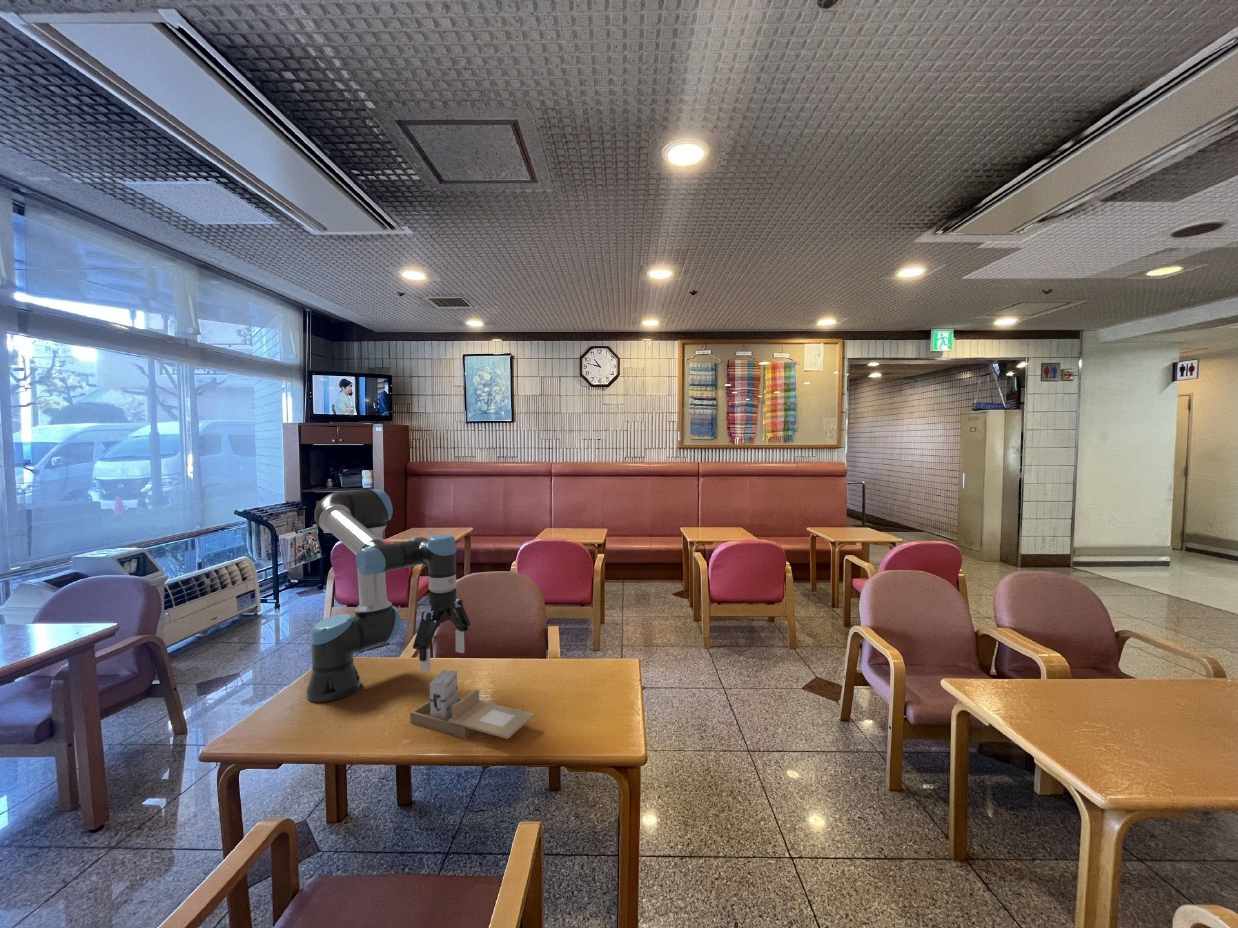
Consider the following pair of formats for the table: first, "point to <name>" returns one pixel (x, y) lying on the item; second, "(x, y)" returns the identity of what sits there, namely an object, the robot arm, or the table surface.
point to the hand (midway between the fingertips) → (443, 661)
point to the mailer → (437, 722)
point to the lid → (488, 716)
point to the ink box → (443, 695)
